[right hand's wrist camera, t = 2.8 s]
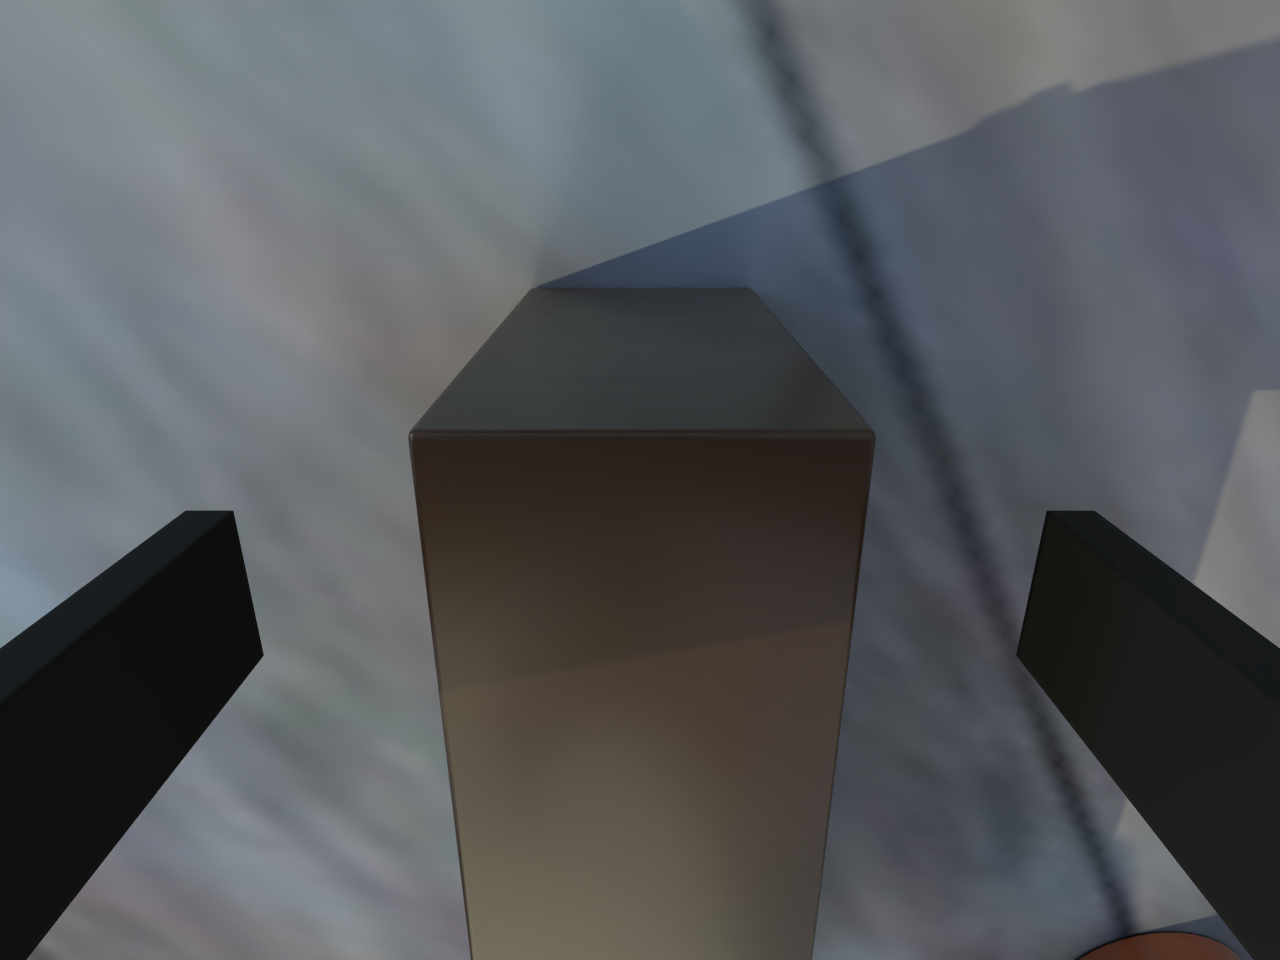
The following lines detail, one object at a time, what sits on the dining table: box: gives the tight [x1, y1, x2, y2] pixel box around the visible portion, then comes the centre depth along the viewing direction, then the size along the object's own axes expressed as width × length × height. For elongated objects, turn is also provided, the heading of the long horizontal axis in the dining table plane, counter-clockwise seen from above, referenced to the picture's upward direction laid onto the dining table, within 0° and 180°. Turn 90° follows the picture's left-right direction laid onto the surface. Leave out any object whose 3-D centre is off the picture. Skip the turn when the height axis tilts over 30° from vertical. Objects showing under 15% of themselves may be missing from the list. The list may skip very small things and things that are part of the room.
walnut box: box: [408, 288, 876, 960], centre depth 17 cm, size 24×5×10 cm, turn 0°
